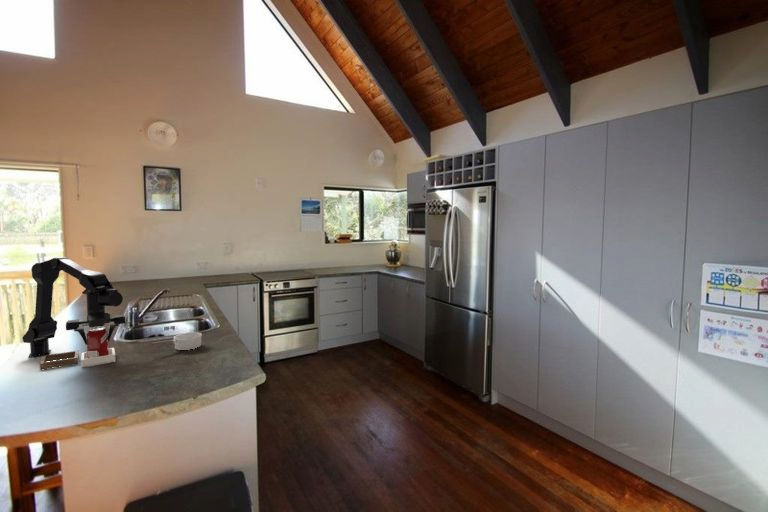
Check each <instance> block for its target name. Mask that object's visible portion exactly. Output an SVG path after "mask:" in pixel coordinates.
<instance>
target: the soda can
mask: <svg viewBox="0 0 768 512" xmlns="http://www.w3.org/2000/svg"><path fill="white" fill-rule="evenodd" d="M108 331H109V330H107V329H106V326H97V327H92V328H91V327H90V328H88V331H87V333H86V338H87V345H86V348H87V349H86V352H87V355H88V358H93V357H99V356H105V355H109V350H108V348H109V342H108Z"/></svg>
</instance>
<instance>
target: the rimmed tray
mask: <svg viewBox="0 0 768 512" xmlns="http://www.w3.org/2000/svg"><path fill="white" fill-rule="evenodd" d="M108 350H109V355H105V356H99V357H93V358H88V355H87V351H85V352H81V356H80V365H81V368H87V367H93V366H99V365H105V364H110V363H115V362H116V352H115V351H116V350H115V347H110V348H109V347H108Z"/></svg>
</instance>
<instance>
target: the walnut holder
mask: <svg viewBox="0 0 768 512" xmlns="http://www.w3.org/2000/svg"><path fill="white" fill-rule="evenodd" d="M74 357H75V358H74ZM79 357H80V353H79V350H72V351H67V352H65V351H64V352H59V353H53V354H51V353H50V354H49V355H42V357H41V360H40V362H39V371H43V370H42V369H45V370H48V369H47V368H51V369H53V368H52V367H57V368H60V367H59V366H63V367H67V366H66V365H69V366H74V365H79ZM67 358H68V359H67ZM60 359H62V360H60ZM53 360H56V361H53ZM46 361H50V362H46ZM73 364H74V365H73Z"/></svg>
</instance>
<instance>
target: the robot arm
mask: <svg viewBox="0 0 768 512" xmlns="http://www.w3.org/2000/svg"><path fill="white" fill-rule="evenodd" d="M61 271H63V272H64V273H66V274H67V275H70V276H71V277H72V278H75V279H76V280H78V283H79V285H81V286H82V287H83V288H84V290H83V291H82V292H81V294H82V295H83V294H84V295H86V296H85V297H86V313H87V314H86V315H87V316H86V320H82V321H80V319H70V320H69V319H68V320H66V323H65V331H73V332H78V334H79V335H80V336H81V338H82V341H83V342H84V344H85V346H87V333H86V330H85V326H88V327H89V328H90V329H91V328H95V327H105V325H106V324H108V330H107V331H108V343H109V342H110V340H111V337H112V334H113V332H114V331H115V328H116V327H118V326H119V325H123V324H124V325H125V324H126V316H125V314H115V315H112V317H111V312H106V307H118V306H120V305H121V304H122V303H123V301H124V297H123V295H122V294H121V293H120V292H119V291H118V289H117V288H114V287H113V285H112V283H111V281H109V279H108V277H107V275H106V274H105V273H102V272H100V271H94V270H89V269H87V268H85V267H84V266H81V265H79V264H78V263H77V262H75V261H72V260H71V259H70V258H69V257H66V256H59V257H58V256H57V257H54V258H51V259H48V260H46V261H45V260H44V261H42V262H37V263H34V264H32V266H31V277H32V279H33V280H34V281H35V283H36V297H35V298H36V299H35V309H34V310H35V312H34V314H35V315H34V317H33V318H32V320H31V321H30V323H29V324H28V330H27V331H26V332H25V333H24V335H23V336H22V342H23V343H27V344H29V347H30V348H29V349H30V353H29V355H28V358H35V356H36V357H41V355H42V356H45V355H51V353H52V352H51V351H52V350H51V349H50V345H49V339H54V338H55V335H56V332H57V330H58V327H57V325H58V321H57V320H55V319H54V318H53V317H52V309H53V308H52V307H53V305H52V304H53V293H54V292H53V291H54V283H55V282H56V281H57V279H59V276H60V272H61Z"/></svg>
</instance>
